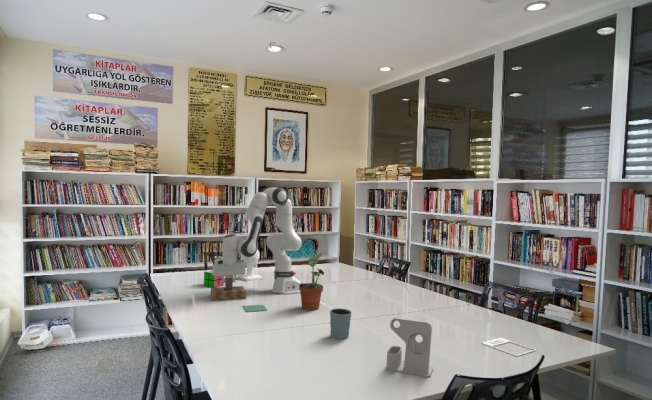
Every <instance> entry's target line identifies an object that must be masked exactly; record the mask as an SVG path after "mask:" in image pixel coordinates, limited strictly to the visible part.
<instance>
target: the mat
mask: <svg viewBox="0 0 652 400" xmlns="http://www.w3.org/2000/svg"><path fill="white" fill-rule="evenodd" d="M242 307H243V309H244V310H245V311H244V312H245V313H253V312H267V311H268V309H267V308H266V306H265V305H264V304H250V305H249V304H248V305H242Z"/></svg>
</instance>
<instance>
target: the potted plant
mask: <svg viewBox="0 0 652 400" xmlns="http://www.w3.org/2000/svg"><path fill="white" fill-rule="evenodd" d="M321 256H322V253H317V254H315V255H313V256H311V257H309V259H307V261H308V262H307V265H306V266H310V267H311V269H312V271H310V272H311V273H312V274H311V275H312V276H311V282H308V283H307V282H306V283H303V282H301V284H300V285H299V291H300V292H301V293H300V300H301V303H300V304H301V309H302V310H305V311H315V310H318V309H319V308H320V304H321V296H322V292H323V291H324V285H323V284H321V283H318V280H319V278H320V275H321V276H324V274H325V271H323V270H322V269H319V268H316V270H318V271H314V267H315V266H316V265H317V264H318V263H319V261H320V258H321ZM315 277H316V281H315Z"/></svg>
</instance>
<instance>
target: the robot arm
mask: <svg viewBox="0 0 652 400" xmlns="http://www.w3.org/2000/svg"><path fill="white" fill-rule="evenodd" d="M269 205H275V209H276V212H275V225H276V227H277V228H278V229H280V230H281V233H272V234H271V233H270V234H269V235H268V236H267V237H266V241H265V243H266V246H267V248H268V249H269V250H270V251H271V253H272V255H273V257H274V271H273V287H272V289H271V291H272V293H275V294H283V295H289V294H290V295H291V294H299V293H300V294H301V292H300V291H299V285H300V284H301V283H302V281H301V280H299V279H298V278H297V276H295V275H296V273H297V272H296V271H293V270H292V259H291V257H290V256H288V255H287V253H286V251H289V252H294V251H299V250H300V248H301V247H302V243H303V242H302V241H303V240H302V238H301V237H300V236H299V235H298V234H297V233H296V231H295V229H294V225H293V223H294V222H293V205H292V201H291V199H290V198H289V196H288V193H287V191H286V190H285V189H284V188H281V187H267V188H265V189H263V190H262V191H259V192H256V193H255V194H254V196H253V197H252V199H251V201H250V202H249V206H248V208H247V211H246V217H247V219H248V221H249V222H250V225H251V227H250V230H249V234H248V237H247V238H245V239H244V238H243V237H240V236H238V235H236V234H234V233H232V234H231V233H229V234H226V235H224V237H223V239H222V248H221V249H222V255H221V257H219V258H216V259H214V264H213V266H212V270H213V271H212V274H213V276H221V277H222V279H223V283H224V284H225V283H226V279H225V276H228V275H233V283H236V282H235V281H236V280H237V278H238V276H239V275H246V274H247V269H246V262H244V260H242V259H237V255H239V254H240V255H241V256H242V255H244V256H246V257H252V256H253V255H255V253H256V252H257V250H258V243H259V238H260V234H261V232H262V231H261V230H262V226H263V222H264V221H263V220H264V218H265V217H264V216H265V213H266V210H267V208H268V206H269ZM223 277H224V278H223Z"/></svg>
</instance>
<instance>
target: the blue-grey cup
mask: <svg viewBox="0 0 652 400" xmlns="http://www.w3.org/2000/svg"><path fill="white" fill-rule="evenodd" d="M329 313H330V314H329V317H330V319H329V320H330V323H329V324H330V325H329V327H330V337H331V338H332V339H335V340H346V339H348V338H349V337H350V336H349V335H350V328H351V319H352V310H350V309H346V308H332V309H330V310H329Z"/></svg>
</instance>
